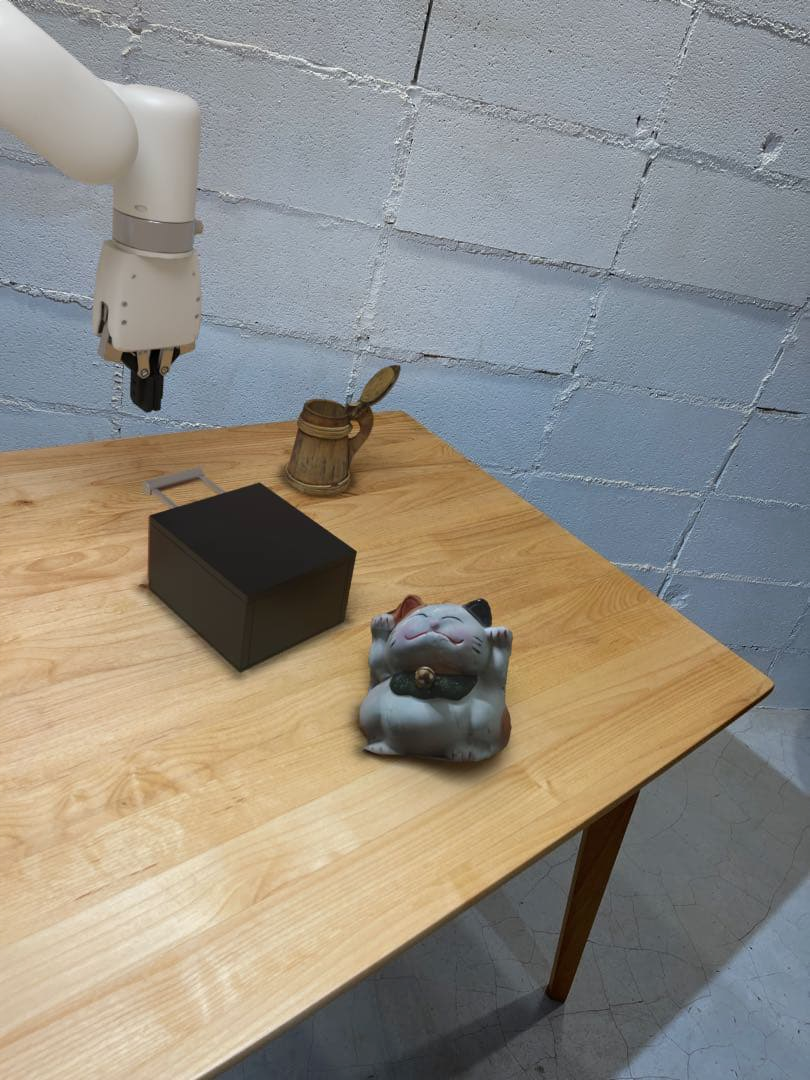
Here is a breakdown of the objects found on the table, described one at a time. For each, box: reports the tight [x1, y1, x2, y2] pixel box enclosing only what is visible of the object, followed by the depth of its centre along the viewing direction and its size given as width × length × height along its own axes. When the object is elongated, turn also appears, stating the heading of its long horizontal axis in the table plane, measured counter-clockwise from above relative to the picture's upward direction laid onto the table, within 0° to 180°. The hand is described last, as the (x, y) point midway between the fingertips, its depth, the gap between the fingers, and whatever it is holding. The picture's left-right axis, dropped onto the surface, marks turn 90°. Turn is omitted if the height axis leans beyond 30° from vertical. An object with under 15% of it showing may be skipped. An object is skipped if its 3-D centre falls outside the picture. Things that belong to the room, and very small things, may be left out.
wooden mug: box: [283, 364, 402, 496], centre depth 109 cm, size 9×14×18 cm, turn 103°
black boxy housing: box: [148, 481, 358, 674], centre depth 84 cm, size 16×14×10 cm
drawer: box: [141, 466, 226, 580], centre depth 87 cm, size 20×13×8 cm, turn 47°
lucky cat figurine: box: [358, 593, 514, 763], centre depth 75 cm, size 15×12×14 cm
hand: (146, 406), depth 88 cm, fingers closed
